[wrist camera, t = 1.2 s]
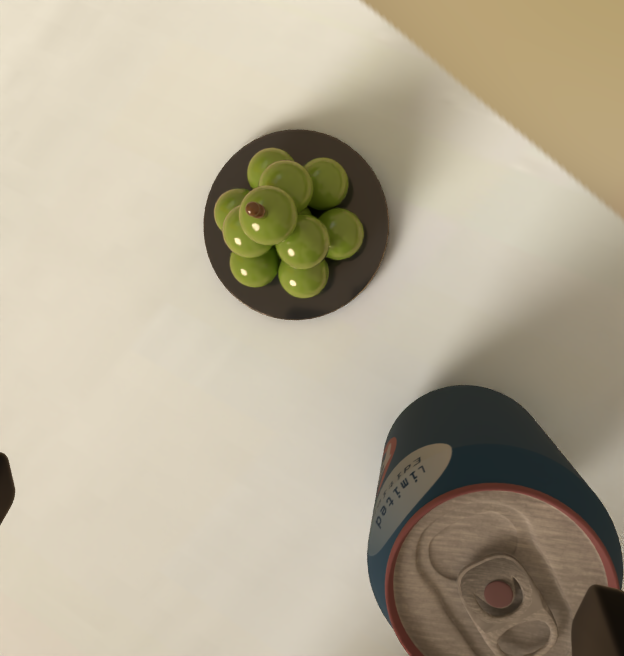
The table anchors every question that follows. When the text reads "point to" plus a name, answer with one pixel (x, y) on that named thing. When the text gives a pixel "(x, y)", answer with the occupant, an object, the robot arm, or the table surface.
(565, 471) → the soda can
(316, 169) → the grapes
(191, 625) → the table surface
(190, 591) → the table surface
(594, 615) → the robot arm
